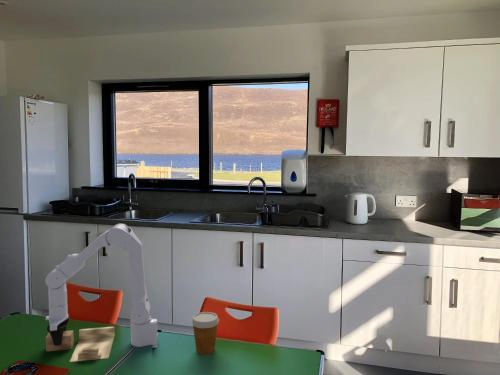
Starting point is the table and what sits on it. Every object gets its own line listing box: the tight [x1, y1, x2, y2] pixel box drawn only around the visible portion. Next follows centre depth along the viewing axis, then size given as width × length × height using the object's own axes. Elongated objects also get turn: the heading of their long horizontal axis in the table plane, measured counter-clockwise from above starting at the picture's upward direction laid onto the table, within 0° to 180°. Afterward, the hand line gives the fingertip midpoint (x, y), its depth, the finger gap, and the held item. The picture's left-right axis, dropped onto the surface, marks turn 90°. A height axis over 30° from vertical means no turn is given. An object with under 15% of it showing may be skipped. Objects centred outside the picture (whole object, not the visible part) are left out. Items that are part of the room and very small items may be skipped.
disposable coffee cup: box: [191, 311, 220, 355], centre depth 138 cm, size 10×10×12 cm
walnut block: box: [45, 330, 75, 352], centre depth 138 cm, size 8×4×5 cm, turn 102°
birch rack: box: [69, 326, 115, 363], centre depth 138 cm, size 12×16×4 cm
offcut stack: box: [78, 346, 101, 361], centre depth 131 cm, size 7×2×3 cm, turn 102°
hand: (59, 341), depth 138 cm, fingers closed on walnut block, 4 cm apart
